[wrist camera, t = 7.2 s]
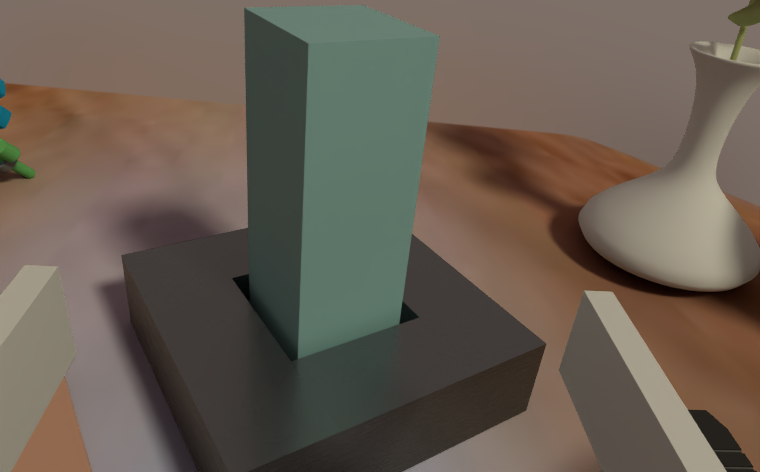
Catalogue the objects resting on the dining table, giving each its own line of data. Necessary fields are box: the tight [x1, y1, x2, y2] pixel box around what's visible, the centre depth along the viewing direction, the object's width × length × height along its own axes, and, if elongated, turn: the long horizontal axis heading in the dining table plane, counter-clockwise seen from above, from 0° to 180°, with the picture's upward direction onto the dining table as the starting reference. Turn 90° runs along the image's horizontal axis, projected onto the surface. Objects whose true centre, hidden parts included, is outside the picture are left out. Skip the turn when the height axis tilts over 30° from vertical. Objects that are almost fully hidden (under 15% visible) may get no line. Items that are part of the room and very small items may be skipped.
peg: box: [244, 5, 440, 362], centre depth 25 cm, size 5×5×16 cm
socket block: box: [122, 228, 546, 472], centre depth 29 cm, size 14×14×4 cm
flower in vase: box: [578, 0, 760, 292], centre depth 36 cm, size 13×11×25 cm
